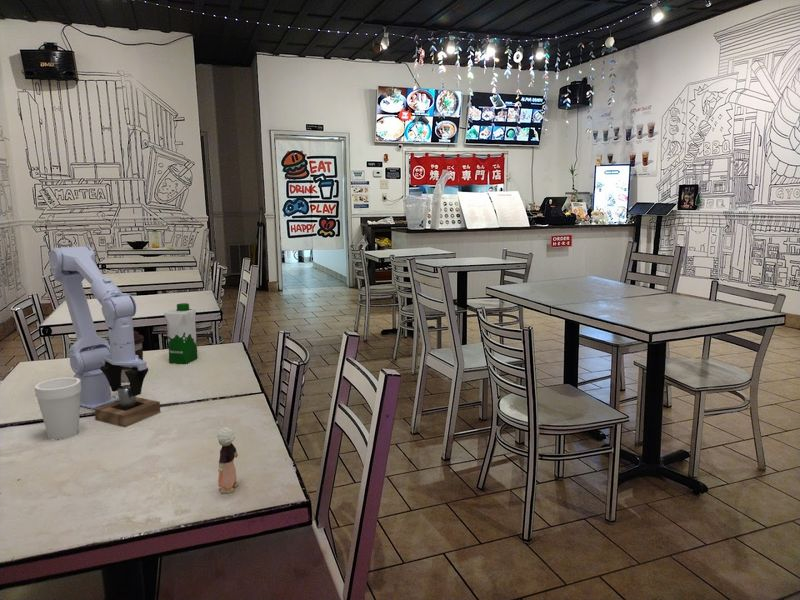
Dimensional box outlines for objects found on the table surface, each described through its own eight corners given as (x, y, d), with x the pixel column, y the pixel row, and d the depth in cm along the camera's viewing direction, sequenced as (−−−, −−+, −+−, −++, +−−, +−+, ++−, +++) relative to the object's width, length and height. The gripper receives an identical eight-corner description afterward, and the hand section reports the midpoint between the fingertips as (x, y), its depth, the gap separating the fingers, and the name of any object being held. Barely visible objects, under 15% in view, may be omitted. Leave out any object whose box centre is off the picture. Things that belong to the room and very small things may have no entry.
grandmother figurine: (222, 480, 116) (219, 421, 114) (241, 479, 116) (238, 420, 114) (213, 499, 108) (209, 437, 106) (234, 498, 109) (230, 436, 106)
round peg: (117, 417, 149) (114, 388, 147) (129, 412, 152) (127, 383, 151) (128, 419, 147) (125, 390, 146) (140, 414, 151) (138, 385, 149)
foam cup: (94, 430, 141) (89, 379, 139) (61, 445, 132) (55, 391, 130) (65, 425, 144) (60, 375, 142) (31, 439, 135) (25, 387, 133)
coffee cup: (153, 377, 182) (149, 331, 179) (124, 385, 174) (120, 338, 171) (135, 372, 187) (131, 327, 185) (106, 380, 179) (101, 334, 176)
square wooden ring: (95, 419, 147) (94, 408, 147) (131, 406, 157) (130, 395, 156) (125, 427, 143) (124, 415, 142) (160, 412, 152) (159, 401, 152)
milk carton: (201, 358, 204) (197, 303, 200) (188, 365, 195) (184, 308, 191) (178, 357, 205) (175, 302, 202) (164, 364, 196) (160, 307, 193)
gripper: (154, 342, 147) (158, 392, 149) (116, 335, 153) (120, 384, 155) (131, 348, 140) (135, 400, 143) (92, 341, 147) (97, 392, 149)
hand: (126, 392), depth 149 cm, fingers open, 7 cm apart
